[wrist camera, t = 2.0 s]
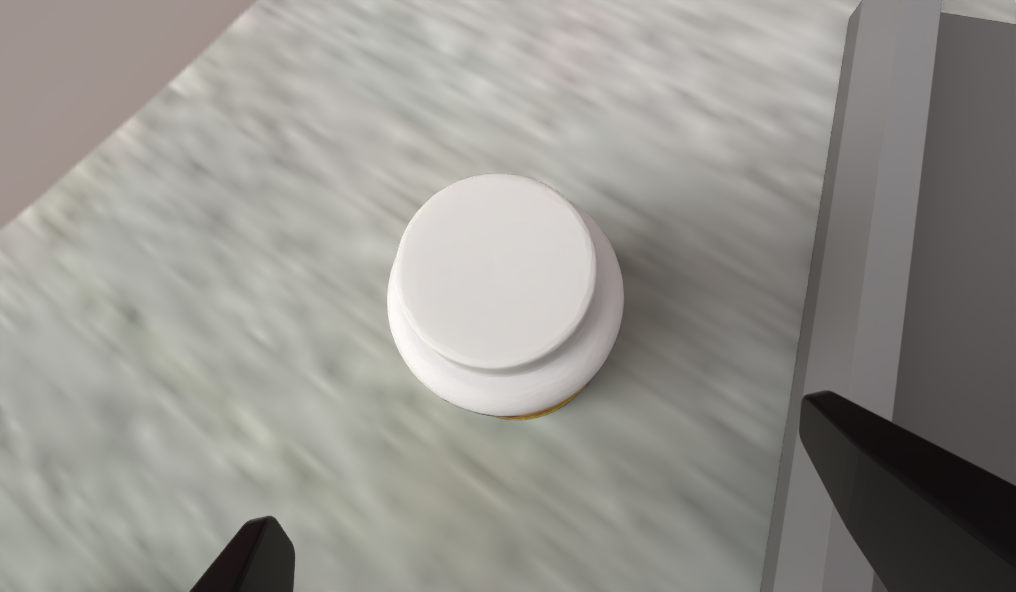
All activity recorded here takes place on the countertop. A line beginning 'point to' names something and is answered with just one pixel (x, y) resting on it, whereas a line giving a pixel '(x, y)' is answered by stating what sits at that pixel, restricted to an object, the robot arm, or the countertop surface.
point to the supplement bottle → (504, 296)
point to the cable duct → (907, 267)
